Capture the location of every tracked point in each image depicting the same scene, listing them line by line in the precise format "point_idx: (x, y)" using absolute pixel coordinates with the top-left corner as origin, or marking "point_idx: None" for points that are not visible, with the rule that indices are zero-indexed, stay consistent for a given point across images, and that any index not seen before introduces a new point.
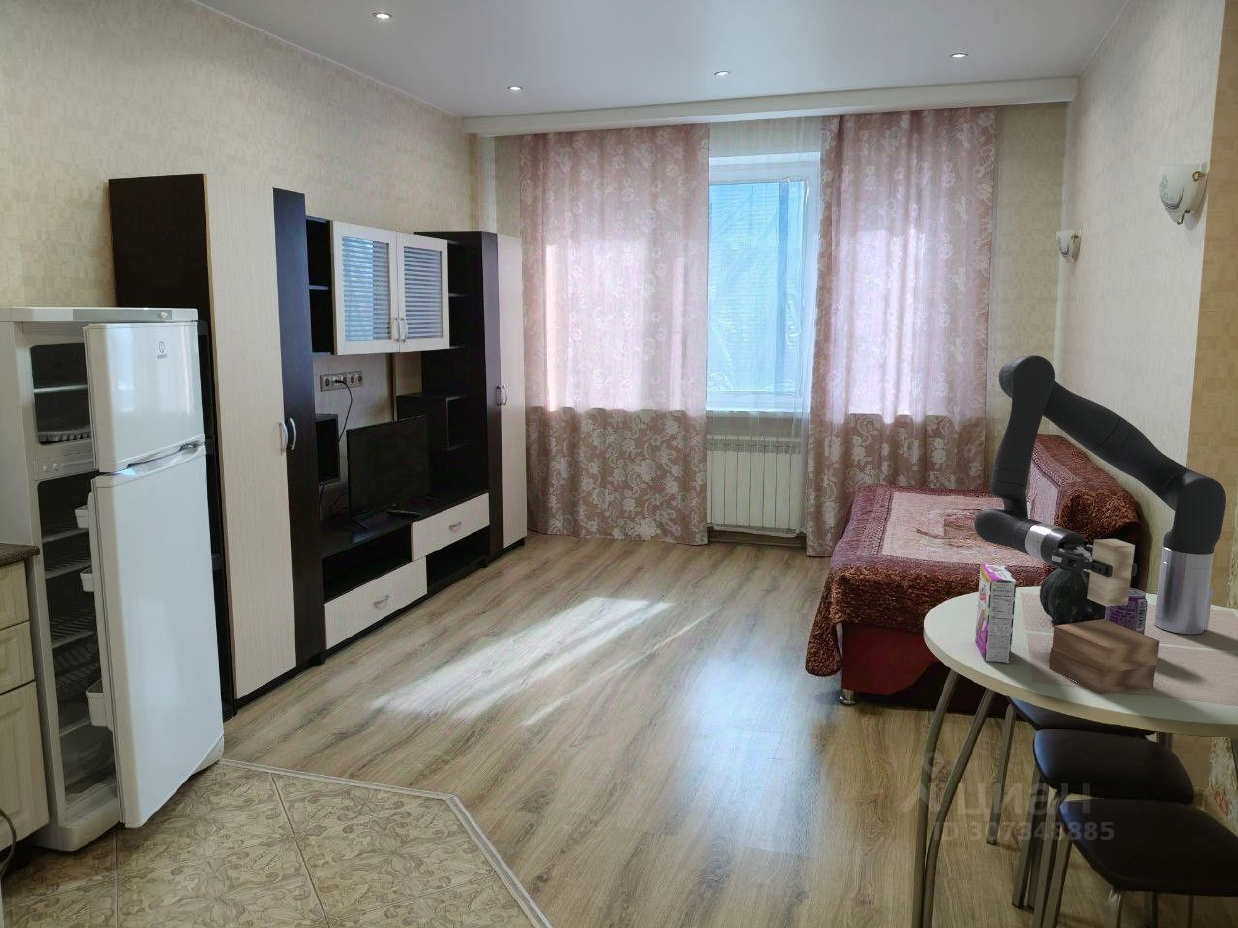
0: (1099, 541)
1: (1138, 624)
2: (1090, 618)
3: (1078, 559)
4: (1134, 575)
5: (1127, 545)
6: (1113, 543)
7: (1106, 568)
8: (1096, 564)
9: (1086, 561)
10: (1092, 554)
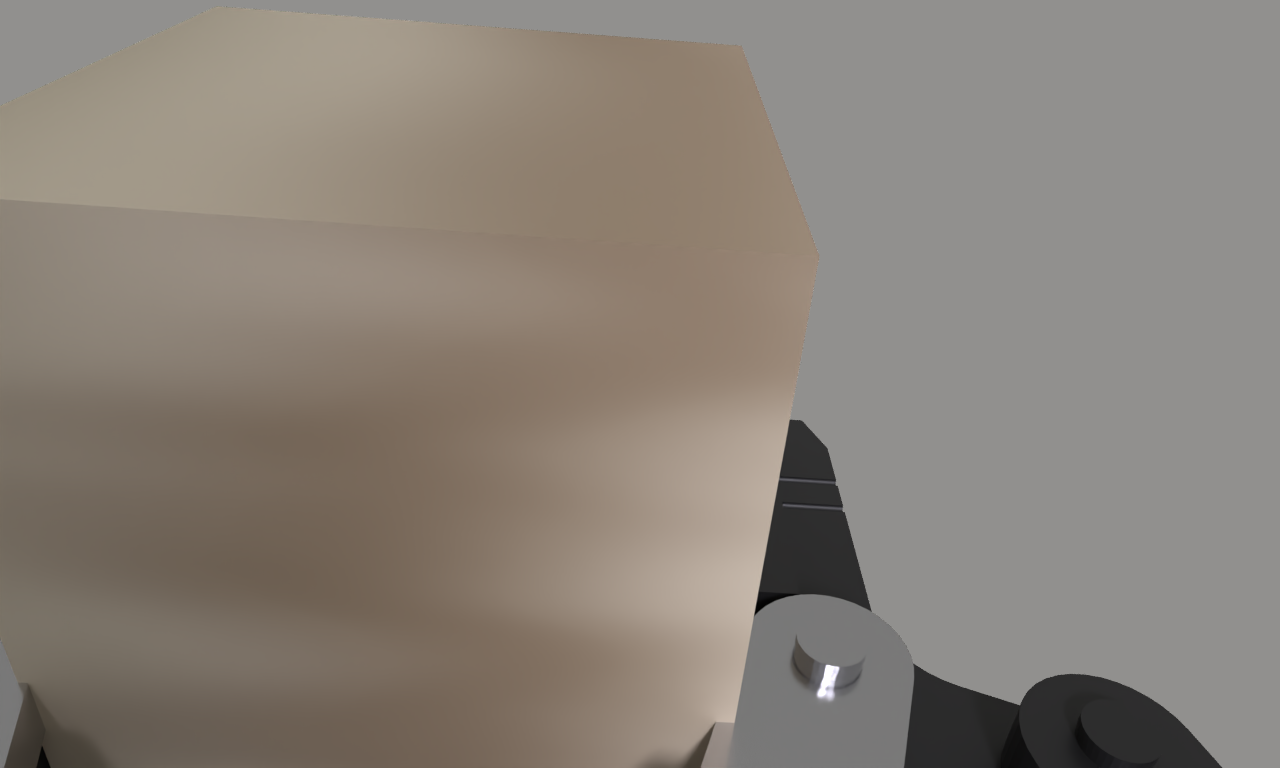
0: (771, 173)
1: None
2: None
3: (1174, 735)
4: None
5: (380, 24)
6: (541, 81)
7: None
8: (842, 535)
9: (940, 716)
10: (740, 663)
